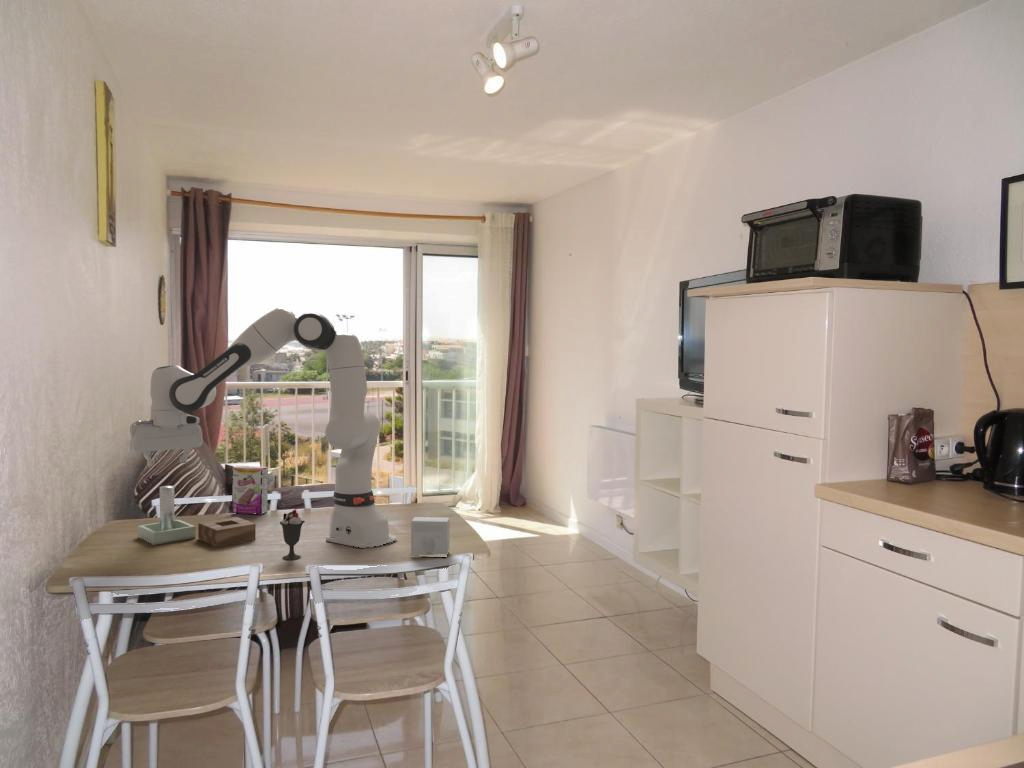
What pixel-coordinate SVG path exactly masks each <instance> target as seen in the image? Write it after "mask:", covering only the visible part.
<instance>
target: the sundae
mask: <svg viewBox="0 0 1024 768" xmlns="http://www.w3.org/2000/svg"><path fill="white" fill-rule="evenodd" d="M299 507H300V505H298V504H297V506H296V507H295V508H294V509H293V510H292V511H290V512H288V513H283V518H282V520H281V521H279V524H280V525H281V527H282V533H283V541H284V543H285V544H286V545H288V547H289V552H288V554H287V555H284V556H283V557H282V559H283V561H297V560H299V558H300V559H301V558H302V556H301V555H299V554H296V553H295V546H296V545H297V544H298V542H300V537H301V532H302V526H303V524H304V523H305V520H302V519H301V517H300V516H299V513H298V512H297V509H298V508H299Z"/></svg>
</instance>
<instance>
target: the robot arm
mask: <svg viewBox="0 0 1024 768" xmlns="http://www.w3.org/2000/svg"><path fill="white" fill-rule="evenodd" d="M294 341H297V342H298V343H299V344H300V345H302V346H303V347H305V348H306V349H309V350H314V351H322V352H324V354H325V356H326V359H327V366H328V368H327V369H328V375H329V385H330V392H331V393H330V394H331V397H330V411H329V418H328V422H327V424H326V427H325V432H324V434H325V435H324V436H325V438H326V441H327V443H328V444H329V445H330V446H331V447H333V448H335V449H338V450H341V451H340V453H339V458H338V461H337V463H336V465H335V478H334V479H335V481H334V484H335V489H334V492H333V504H334V507H333V509H332V510H331V512H330V521H329V530H328V531H329V532H328V535H326V537H325V538H326V539H325V541H326V542H330V543H335V544H340V545H344V546H349V547H353V546H354V548H358V547H359V549H368V548H367V547H369V548H375V547H374V546H376V547H380V545H381V546H384V545H383V544H386V543H389V542H392V541H394V540H396V539H397V536H395V535H393V534H391V533H390V528H389V527H390V526H389V522H388V518H387V517H386V516H384V515H383V513H382V511H380V509H379V508H378V507H377V505H376V504H375V503H376V498H377V495H374V493H373V490H372V475H373V474H372V473H373V471H372V470H373V461H374V455H375V452H376V447H377V441H378V437H379V435H380V432H381V429H382V427H381V426H382V424H381V421H380V419H379V417H378V416H377V415H376V414H374V413H372V412H370V411H366V410H365V404H366V403H365V402H366V396H367V394H368V383H367V375H366V367H365V359H364V355H363V354H364V353H363V350H362V347H361V342H360V340H359V338H358V337H357V336H356V335H355V334H354V333H350V332H339V331H336V330H335V327H334V325H333V324H332V322H331V321H330V319H329V318H327V317H326V316H325V315H323V314H320V313H318V312H315V311H314V312H312V311H310V312H305V313H302V314H301V315H300V316H299V317H298V316H296V314H295V313H294V312H292V311H291V310H290V309H288V308H285V307H276V308H275V309H273V310H271V311H269V312H267V313H265V314H263V316H261V317H259V318H258V319H257V320H255V321H254V322H253V323H252V324H250V325H249V326H248V327H247V328H246V329H245V330H244V331H243V332H241V334H239V335H238V337H236V339H235V340H234V341H233V342H232V343H231V344H230V346H228V347H227V348H226V349H225V350H224V352H223V353H221V354H220V355H219V356H218V357H216V358H215V359H213V360H212V361H210V362H209V363H208V364H207V365H205V366H204V367H203V368H202V369H200V370H198V372H196V373H192V372H190V371H188V370H186V369H184V368H182V366H180V365H179V364H178V365H177V364H172V365H163V366H158V367H156V368H155V369H154V370H153V371H152V373H151V377H150V388H149V389H150V394H149V395H150V399H151V404H150V405H151V406H150V419H146V420H135V422H133V423H131V425H130V427H129V430H130V431H129V432H130V440H129V441H130V442H129V448H130V451H131V452H133V453H136V454H137V453H139V454H140V453H143V456H144V459H145V460H146V461H147V467H149V468H150V467H155V466H156V464H155V463H156V460H155V459H152V458H151V457H150V456H151V454H152V452H157V451H158V452H159V451H170V450H180V449H181V450H182V452H184V453H183V454H182V456H179V463H180V464H187V462H188V457H189V455H190V454H191V451H192V450H191V449H192V448H194V449H195V448H201V446H202V445H203V443H204V442H203V441H204V439H203V438H204V437H203V429H202V427H201V425H199V424H200V421H201V420H200V417H199V416H195V415H192V414H189V413H192V412H195V411H197V410H199V409H202V408H205V407H207V406H209V405H210V404H212V403H213V402H214V401H215V399H216V398H217V394H218V393H217V392H218V391H217V390H218V389H217V386H219V385H221V383H222V382H224V381H225V380H226V379H227V378H229V377H230V376H232V375H233V374H235V373H236V372H238V371H239V370H242V369H245V368H247V367H251V366H254V365H258V364H260V363H262V362H263V361H264V362H265V361H266V360H267V359H269V358H271V357H272V356H273V355H275V354H276V353H277V352H279V351H280V350H281V349H283V347H284V346H286V345H288V344H289V343H291V342H294ZM396 541H397V540H396ZM392 543H393V542H392ZM389 544H390V543H389ZM386 545H387V544H386Z"/></svg>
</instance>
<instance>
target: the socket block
mask: <svg viewBox="0 0 1024 768" xmlns="http://www.w3.org/2000/svg"><path fill="white" fill-rule="evenodd" d="M197 523H198V536H197V537H198V540H199V541H201V542H203V541H204V542H203V543H207V544H208V545H210V544H211V546H213V547H215V548H220V547H221V548H222V547H225V546H231V545H235V544H236V545H237V544H241V543H247V542H251V541H256V534H257V531H256V528H257V527H256V523H255V522H252V521H250V520H247V519H244V518H241V517H238V516H233V517H228V518H221V519H214V520H209V521H203V522H202V521H201V522H197Z"/></svg>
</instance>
